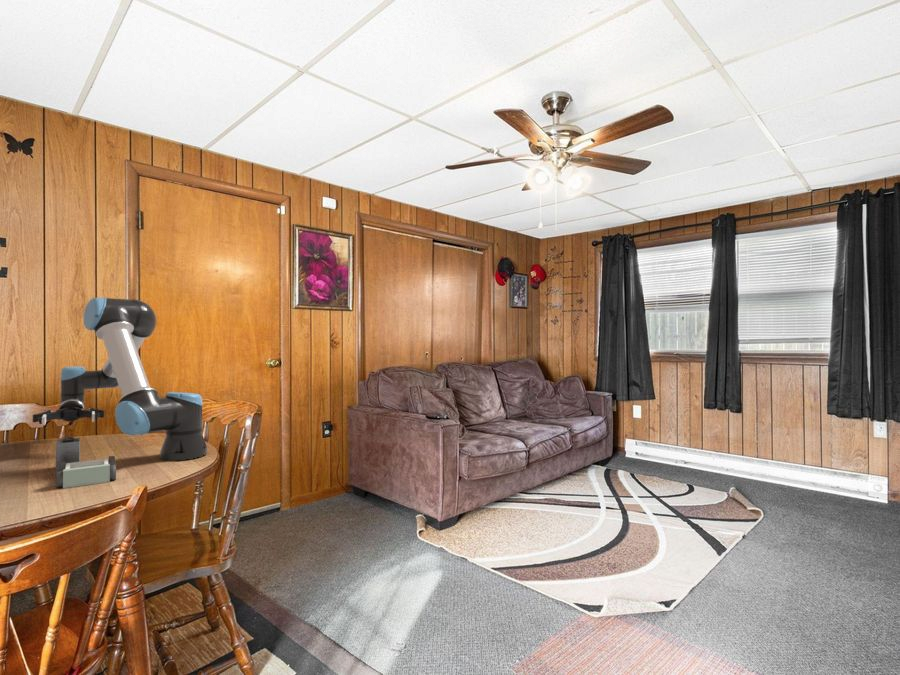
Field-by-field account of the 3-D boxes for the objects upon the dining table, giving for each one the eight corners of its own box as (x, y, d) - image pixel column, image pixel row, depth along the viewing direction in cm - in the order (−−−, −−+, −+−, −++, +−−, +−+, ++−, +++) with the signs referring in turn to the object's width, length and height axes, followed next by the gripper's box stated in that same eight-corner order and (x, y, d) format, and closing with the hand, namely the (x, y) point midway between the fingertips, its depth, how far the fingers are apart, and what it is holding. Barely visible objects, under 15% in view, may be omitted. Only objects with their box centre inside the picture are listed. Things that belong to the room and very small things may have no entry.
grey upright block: (56, 467, 160) (57, 437, 160) (79, 464, 164) (79, 434, 164) (55, 471, 155) (55, 440, 155) (79, 468, 159) (79, 438, 159)
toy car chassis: (59, 474, 152) (59, 458, 152) (114, 467, 161) (114, 452, 161) (55, 489, 139) (55, 471, 138) (116, 481, 147) (116, 464, 147)
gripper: (111, 417, 192) (112, 427, 175) (28, 423, 177) (20, 434, 160) (111, 398, 192) (112, 406, 175) (28, 402, 177) (21, 411, 160)
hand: (68, 419), depth 168 cm, fingers open, 13 cm apart
